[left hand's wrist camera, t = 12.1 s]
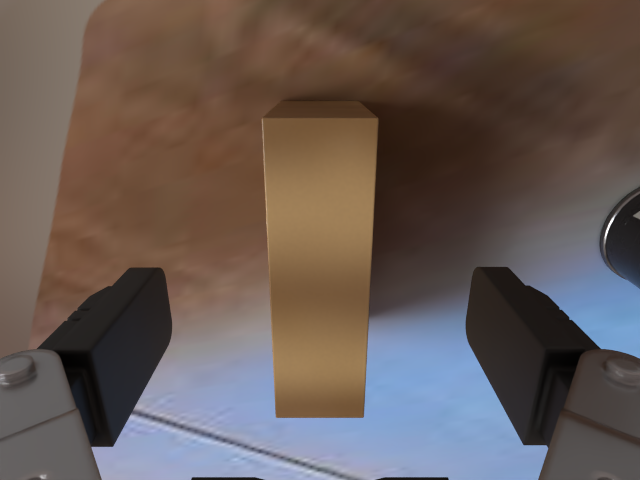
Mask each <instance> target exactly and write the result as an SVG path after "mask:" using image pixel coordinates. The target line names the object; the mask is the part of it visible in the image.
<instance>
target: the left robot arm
mask: <svg viewBox="0 0 640 480" xmlns="http://www.w3.org/2000/svg"><path fill="white" fill-rule="evenodd" d="M600 251H601V255H602V258H603V260H604V262H605V264H606V265H607V266H608V267H609V268H610V269H611V270H612V271H613V272H614V273H616V274H617V275H619V276H620V277H622V278H624V279H626V280H628V281H630V282H631V283H632V284H634V285H635V286H637V287H638V288H640V188H638V189H636V190H634V191H633V192H631V193H630V194H628V195H627V196H626V197H624V198H623V199H622V200H621V201H620V202H619V203H618V204H617V205H616V206H615V207H614V209H613V210H612V211H611V213H610V214H609V216H608V217H607V219H606V221H605V223H604V225H603V228H602V231H601V236H600ZM171 334H172V318H171V312H170V305H169V298H168V291H167V285H166V278H165V274H164V271H163V270H162V269H161V268H129V269H128V270H127V271H126V272H125V273H124V274H123V275H122V276H121V277H120V278H119V279H118V280H117V281H116V282H115V283H114V285H113V286H108V287H106V288H104V289H102V290H100V291H99V292H97V293H95V294H93V295H91V296H90V297H89V298H88V299H87V300H86V301H85V302H84V303H83V304H82V305H81V306H79V307H78V310H77V311H74V312H73V313H72V314H71V315H70V316H69V317H68V320H67V321H64V322H63V323H62V324H61V325H60V326H59V327H58V328H57V329H56V330H55V331H54V332H53V333H52V334H51V335H50V336H49V337H48V338H47V339H46V340H45V341H44V342H43V343H42V344H41V345H40V346H39V347H38V348H37V349H34V350H26V351H21V352H18V353H14V354H11V355H8V356H6V357H3V358H1V359H0V480H102V479H101V476H100V473H99V470H98V467H97V464H96V461H95V458H94V455H93V452H92V449H91V447H113V446H114V444H115V442H116V440H117V438H118V437H119V435H120V433H121V431H122V429H123V427H124V426H125V424H126V422H127V420H128V418H129V416H130V415H131V413H132V411H133V409H134V407H135V405H136V404H137V402H138V400H139V398H140V396H141V394H142V393H143V391H144V389H145V387H146V385H147V384H148V382H149V380H150V378H151V376H152V374H153V373H154V371H155V369H156V367H157V365H158V363H159V362H160V360H161V358H162V356H163V354H164V352H165V351H166V349H167V347H168V345H169V342H170V339H171ZM466 335H467V339H468V342H469V345H470V347H471V348H472V350H473V352H474V354H475V356H476V358H477V360H478V361H479V363H480V365H481V367H482V369H483V371H484V373H485V374H486V376H487V378H488V380H489V382H490V384H491V386H492V387H493V389H494V391H495V393H496V395H497V397H498V399H499V400H500V402H501V404H502V406H503V408H504V410H505V411H506V413H507V415H508V417H509V419H510V421H511V423H512V424H513V426H514V428H515V430H516V432H517V434H518V436H519V437H520V439H521V441H522V443H523V445H547V447H548V448H549V449H548V452H547V455H546V458H545V461H544V464H543V467H542V470H541V473H540V476H539V479H538V480H640V359H639V358H637V357H635V356H632V355H629V354H626V353H622V352H619V351H614V350H606V349H600V348H599V347H598V346H597V345H596V344H595V343H594V342H593V341H592V340H591V339H590V338H589V337H588V336H587V335H586V334H585V333H584V332H583V331H582V330H581V329H580V328H579V327H578V326H577V325H576V324H575V323H574V322H573V321H572V320H569V317H568V316H567V315H566V314H565V313H564V312H563V311H562V310H559V307H558V306H557V305H556V304H555V303H554V302H553V301H552V300H551V299H550V298H549V297H548V296H547V295H545V294H544V293H542V292H540V291H538V290H536V289H534V288H533V287H531V286H525V285H524V284H523V283H522V282H521V280H520V279H519V278H518V277H517V276H516V275H515V274H514V273H513V272H512V271H511V270H510V269H509V268H508V267H477V268H475V270H474V272H473V276H472V282H471V289H470V295H469V302H468V309H467V316H466ZM191 480H263V479H259V478H255V477H192V479H191ZM377 480H449V479H448V477H385V478H381V479H377Z"/></svg>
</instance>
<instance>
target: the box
mask: <svg viewBox="0 0 640 480" xmlns="http://www.w3.org/2000/svg"><path fill="white" fill-rule="evenodd" d="M378 125H379V118H378V117H376V116H375V115H374V114H373V113H372V112H371V111H370V110H368V109H367V108H366V107H365V106H364V105H363V104H361V103H360V102H359V101H281V102H279V103H278V104H277V105H276V106H275V107H274V108H273V109H272V110H270V111H269V112H268V113H267V114H266V115H265V116H264V117H263V118H262V137H263V158H264V179H265V200H266V221H267V242H268V263H269V284H270V305H271V326H272V347H273V368H274V389H275V410H276V418H363V417H364V403H365V383H366V364H367V344H368V324H369V304H370V284H371V264H372V244H373V224H374V205H375V185H376V165H377V145H378Z"/></svg>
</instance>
